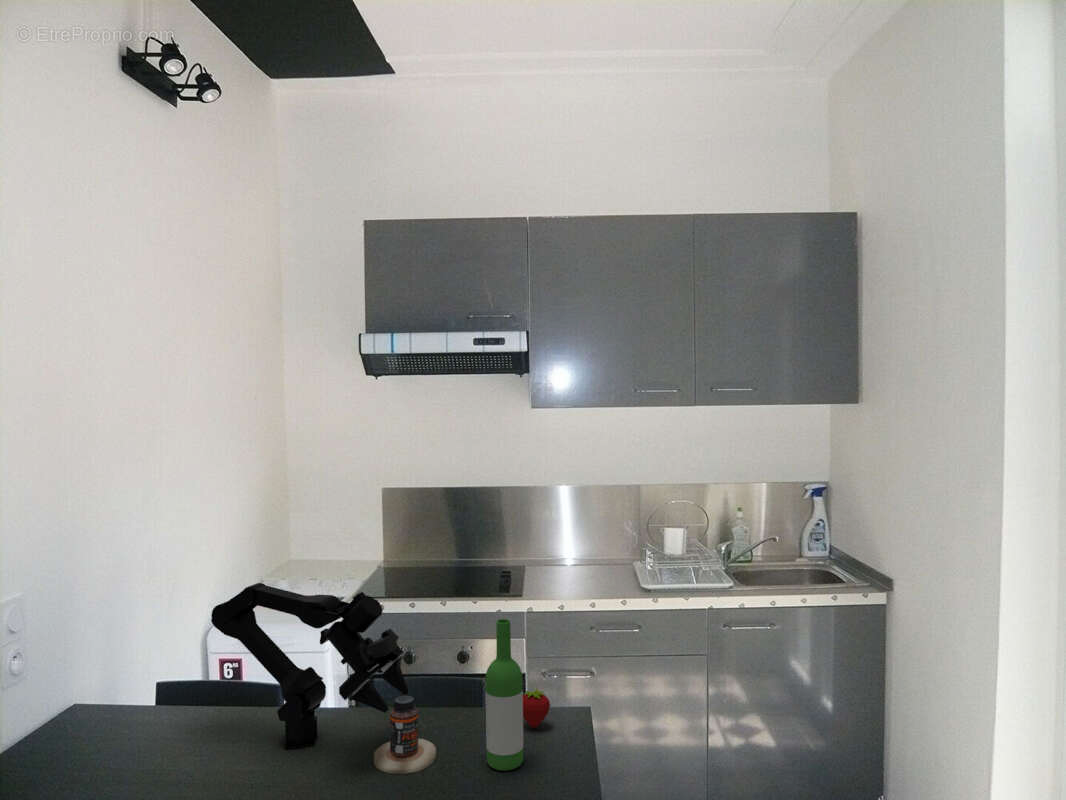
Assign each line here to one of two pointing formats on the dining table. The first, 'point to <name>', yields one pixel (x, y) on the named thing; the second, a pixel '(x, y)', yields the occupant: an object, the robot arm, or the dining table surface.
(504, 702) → the wine bottle
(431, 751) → the serving plate
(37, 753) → the dining table surface
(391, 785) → the dining table surface
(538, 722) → the strawberry
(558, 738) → the dining table surface
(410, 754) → the supplement bottle
